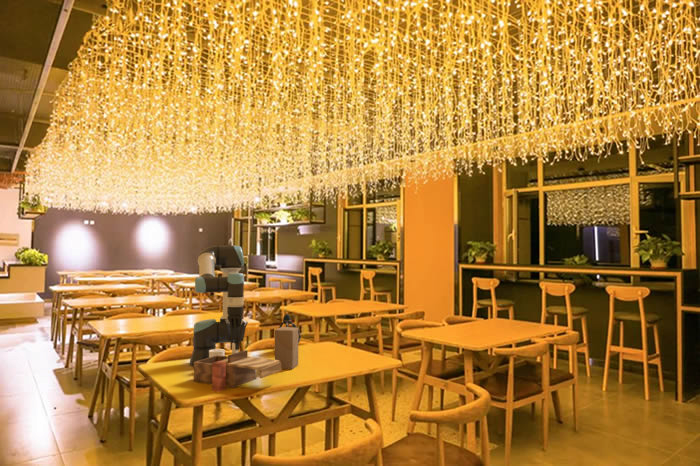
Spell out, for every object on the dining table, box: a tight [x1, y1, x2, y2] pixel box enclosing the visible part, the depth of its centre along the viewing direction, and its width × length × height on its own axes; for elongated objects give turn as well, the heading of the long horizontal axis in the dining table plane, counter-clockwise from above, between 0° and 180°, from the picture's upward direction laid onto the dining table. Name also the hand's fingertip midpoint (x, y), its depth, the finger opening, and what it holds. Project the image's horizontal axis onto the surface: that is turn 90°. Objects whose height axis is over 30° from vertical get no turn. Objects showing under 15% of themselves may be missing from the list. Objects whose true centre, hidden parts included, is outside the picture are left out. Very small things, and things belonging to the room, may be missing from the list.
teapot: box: [274, 313, 302, 344], centre depth 281 cm, size 12×25×23 cm, turn 34°
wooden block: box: [274, 326, 299, 370], centre depth 241 cm, size 10×10×20 cm
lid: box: [221, 350, 282, 379], centre depth 209 cm, size 26×15×8 cm, turn 64°
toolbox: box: [192, 355, 257, 389], centre depth 215 cm, size 24×16×9 cm, turn 64°
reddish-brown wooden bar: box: [211, 361, 227, 392], centre depth 200 cm, size 4×4×12 cm
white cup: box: [209, 348, 226, 358], centre depth 234 cm, size 8×8×10 cm
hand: (235, 356), depth 213 cm, fingers closed
